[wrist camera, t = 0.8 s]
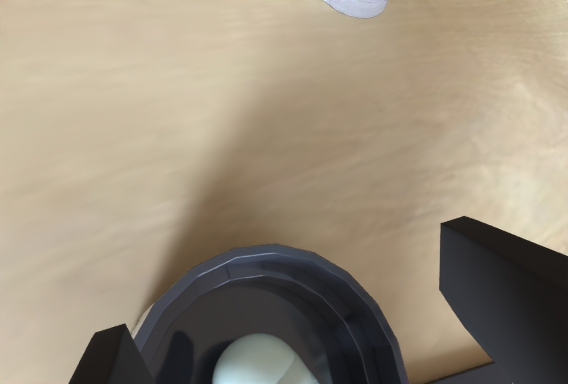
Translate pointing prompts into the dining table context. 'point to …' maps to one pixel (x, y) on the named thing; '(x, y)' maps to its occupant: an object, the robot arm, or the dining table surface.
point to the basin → (269, 318)
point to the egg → (261, 362)
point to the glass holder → (358, 7)
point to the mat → (476, 376)
